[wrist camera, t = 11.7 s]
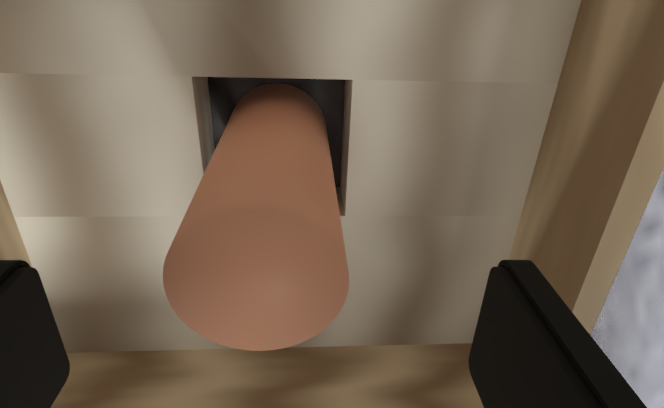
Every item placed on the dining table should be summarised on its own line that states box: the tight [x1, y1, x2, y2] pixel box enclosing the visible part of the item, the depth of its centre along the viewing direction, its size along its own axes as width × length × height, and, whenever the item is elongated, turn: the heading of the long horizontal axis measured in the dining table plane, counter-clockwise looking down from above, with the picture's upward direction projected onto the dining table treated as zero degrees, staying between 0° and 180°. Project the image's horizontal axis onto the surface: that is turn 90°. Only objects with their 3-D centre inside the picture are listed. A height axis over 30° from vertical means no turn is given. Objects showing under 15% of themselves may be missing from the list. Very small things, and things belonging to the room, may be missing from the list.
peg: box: [163, 83, 349, 351], centre depth 14 cm, size 4×4×10 cm
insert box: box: [0, 0, 664, 408], centre depth 15 cm, size 22×22×7 cm
